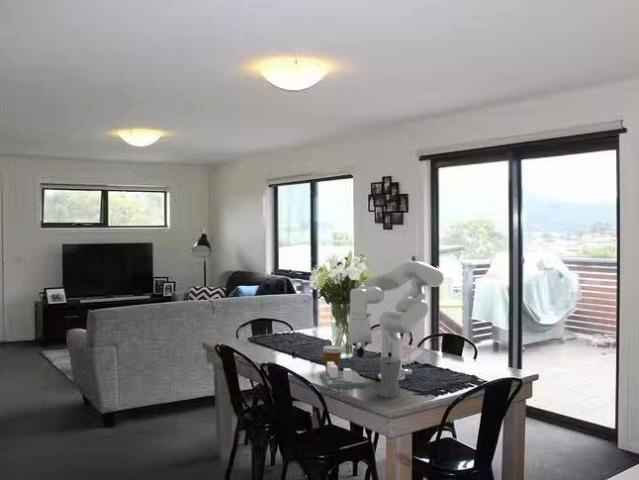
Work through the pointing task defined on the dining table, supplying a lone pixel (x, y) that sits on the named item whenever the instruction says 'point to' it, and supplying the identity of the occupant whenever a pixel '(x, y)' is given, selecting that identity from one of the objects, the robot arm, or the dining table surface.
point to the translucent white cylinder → (411, 357)
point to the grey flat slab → (342, 381)
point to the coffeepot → (389, 376)
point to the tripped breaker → (347, 374)
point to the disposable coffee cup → (332, 355)
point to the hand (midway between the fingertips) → (360, 357)
